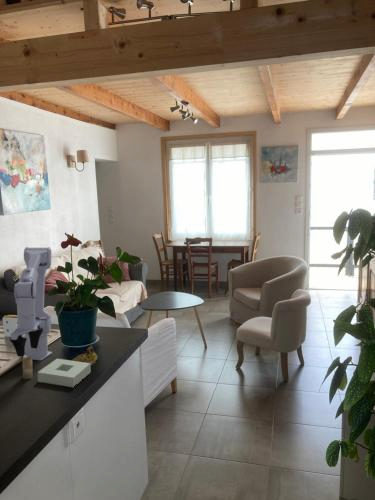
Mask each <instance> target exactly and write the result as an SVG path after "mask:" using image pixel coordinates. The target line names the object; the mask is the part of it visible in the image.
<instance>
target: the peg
mask: <svg viewBox="0 0 375 500" xmlns="http://www.w3.org/2000/svg"><path fill="white" fill-rule="evenodd" d="M21 361H22V379H23V380H29V379H33V377H34V375H33V374H34V373H33V372H34V371H33V359H32V357H24V358H22V360H21Z"/></svg>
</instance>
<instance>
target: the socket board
mask: <svg viewBox="0 0 375 500" xmlns="http://www.w3.org/2000/svg"><path fill="white" fill-rule="evenodd" d="M91 368H92V366H91V363H85V362H78V361H72V360H69V359H64V358H56V359H54V360H53V361H51V362H50V363H49V364H47V365H46V366H44V367H43V368H41V369H40V370H39V371H37V382H39V383H44V384H45V383H46V384H51V385H57V386H64V387H69V388H75V387H76V386H77V385H78V384H80V382H82V379H83V380H84V379H85V378H86V377H87V376H88V375H89V374H90V373H92V372H91ZM76 384H77V385H76ZM75 385H76V386H75ZM74 386H75V387H74Z"/></svg>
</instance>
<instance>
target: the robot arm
mask: <svg viewBox="0 0 375 500" xmlns="http://www.w3.org/2000/svg"><path fill="white" fill-rule="evenodd" d="M23 261H24V263H25V266H26V267H25V268H24V269H23V270H22V271H21V274H20V277H19V280H18V282H17V283H14V286H13V287H14V288H13V294H14V299H15V304H16V309H17V310H16V312H17V327H16V328H15V330H14V331H13V332H12V333H10V337H9V341H10V343H11V344H12V346H13V347H14V350H15V352H16V355H17V357H20V358H21V357H23V356H24V355H26V356H27V357H32V360H34V361H35V360H36V361H43V360H44V359H45V358H47V357H49V356H50V355H52V354H53V352H52V351H51V350H50V351H49V349H48V347H49V346H48V335H49V334H50V333H51V331H52V317H51V315H50V313H49V312H47V311H46V310H45V290H46V289H45V288H46V287H45V285H46V273H47V270H49V269H50V268H51V267H52V249H51V247H50V246H49V247H48V246H47V247H28V246H27V247H26V246H25V248H24V250H23Z"/></svg>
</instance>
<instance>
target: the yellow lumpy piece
mask: <svg viewBox="0 0 375 500" xmlns="http://www.w3.org/2000/svg"><path fill="white" fill-rule="evenodd" d="M98 359H99V357H98V354H97V353H95V351H94V346H92V345H90V346H88V347H87V348H86V352H85V353H82V354H78V355H77V356H75V357H74V358H73V359H72V360H71V361H78V362H85V363H91V367H92V366H94V365H95V364H96V363H97V361H99V360H98Z"/></svg>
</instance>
